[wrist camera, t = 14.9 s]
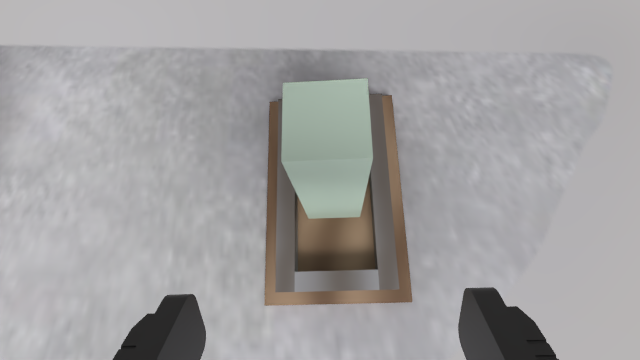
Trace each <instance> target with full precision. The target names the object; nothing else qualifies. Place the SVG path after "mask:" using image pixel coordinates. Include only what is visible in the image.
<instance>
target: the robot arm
mask: <svg viewBox="0 0 640 360" xmlns="http://www.w3.org/2000/svg"><path fill="white" fill-rule="evenodd" d="M458 331H459V338H460V343H461V346H462V349H463V352H464V354H465V357H466V359H467V360H559V359H557V358H556V354H555V353H554V352H553V350H552V348H551V347H550V345H549V344H548V343H547V342H546V339H545V337H544V336H543V334H542V333H541V331H540V330H539V328H538V326H537V325H536V323H535V322H534V321H533V320H532V319H531V318H529V317H528V316H527V315H526V314H525V313H524V312H523V311H522V310H520V309H519V308H518V307H516V306H515V307H507V306H506V305H505V303H504V301H503V300H502V298H501V296H500V294H499V293H498V291H497V290H496V289H495V288H466V289H465V291H464V295H463V301H462V307H461V313H460V319H459V325H458ZM205 341H206V330H205V326H204V323H203V319H202V316H201V313H200V310H199V306H198V303H197V300H196V297H195V296H194V295H193V294H183V295H167V296H165V297H164V299H163V300H162V302H161V304H160V305H159V307H158V309H157V311H156V312H155V314H147V315H146V316H145V317H144V318H143V319H141V320H140V321H139V322H138V323H137V324H136V325H135V326H134V327H133V328H132V329H131V331H130V332H129V334H128V336H127V337H126V339H125V340H124V342H123V344H122V345H121V349H119V350H118V352H117V353H116V355H115V357H114V358H113V360H200V359H201V356H202V353H203V350H204V347H205Z"/></svg>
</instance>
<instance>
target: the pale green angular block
mask: <svg viewBox="0 0 640 360" xmlns="http://www.w3.org/2000/svg"><path fill="white" fill-rule="evenodd" d="M372 161H373V149H372V135H371V120H370V106H369V92H368V78H365V79H347V80H328V81H309V82H290V83H283V97H282V151H281V162H282V164H283V166H284V168H285V170H286V172H287V175H288V177H289V179H290V181H291V183H292V185H293V187H294V189H295V191H296V193H297V195H298V198H299V200H300V202H301V204H302V206H303V208H304V210H305V212H306V214H307V216H308V218H309V219H315V218H348V217H360V215H361V210H362V206H363V201H364V197H365V192H366V188H367V183H368V179H369V174H370V170H371V165H372Z"/></svg>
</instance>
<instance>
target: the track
mask: <svg viewBox="0 0 640 360" xmlns="http://www.w3.org/2000/svg"><path fill="white" fill-rule="evenodd" d="M369 106H370V120H371V135H372V149H373V161H372V165H371V170H370V174H369V179H368V183H367V188H366V192H365V197H364V201H363V206H362V210H361V215H360V217H348V218H315V219H309V218H308V216H307V214H306V212H305V210H304V208H303V206H302V204H301V202H300V200H299V198H298V195H297V193H296V191H295V189H294V187H293V185H292V183H291V181H290V179H289V177H288V175H287V172H286V170H285V168H284V166H283V164H282V162H281V151H282V99H279V100H278V102H270V113H269V153H268V193H267V233H266V273H265V305H309V304H353V303H398V302H412V293H411V283H410V273H409V263H408V253H407V243H406V233H405V223H404V213H403V203H402V193H401V183H400V173H399V163H398V153H397V143H396V134H395V124H394V114H393V104H392V95H388V96H382V94H369Z"/></svg>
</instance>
